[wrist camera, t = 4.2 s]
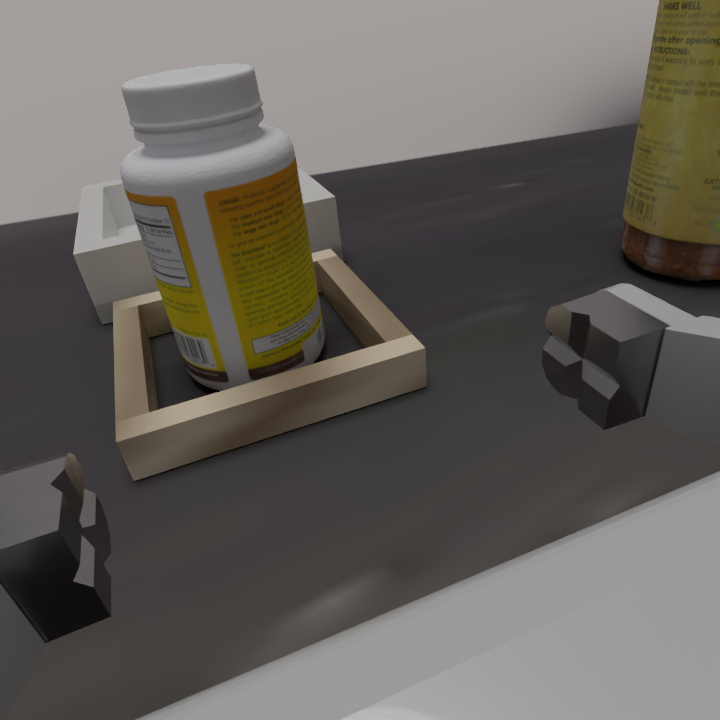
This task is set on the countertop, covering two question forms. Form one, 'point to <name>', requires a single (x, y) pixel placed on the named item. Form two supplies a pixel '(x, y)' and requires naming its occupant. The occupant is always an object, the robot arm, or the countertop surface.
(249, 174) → the supplement bottle
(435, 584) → the countertop surface
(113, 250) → the tray
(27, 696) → the countertop surface
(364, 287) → the wooden frame
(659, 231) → the sauce bottle
